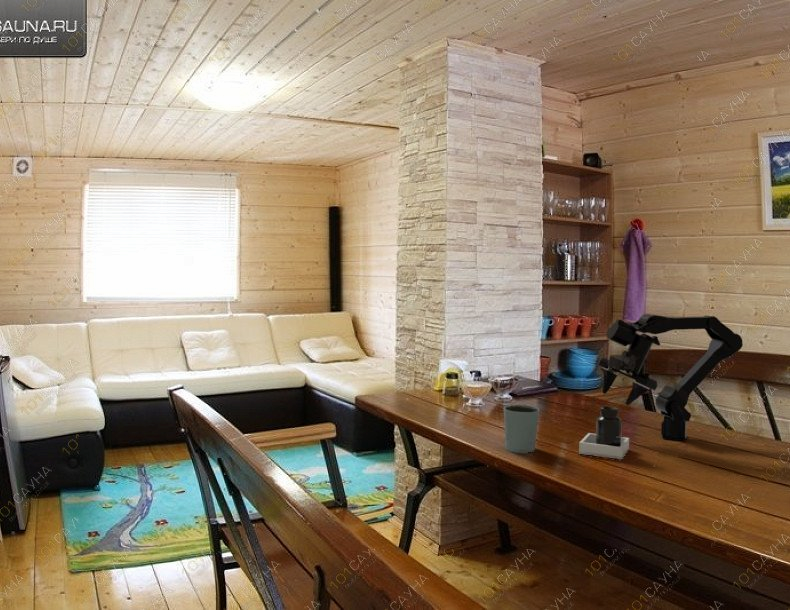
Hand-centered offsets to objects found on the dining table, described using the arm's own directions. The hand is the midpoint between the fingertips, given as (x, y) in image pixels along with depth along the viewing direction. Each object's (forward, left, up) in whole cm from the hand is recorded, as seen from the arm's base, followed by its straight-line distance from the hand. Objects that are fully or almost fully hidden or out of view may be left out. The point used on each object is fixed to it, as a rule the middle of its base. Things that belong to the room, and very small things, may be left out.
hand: (615, 399), depth 204 cm
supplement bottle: (-1, +16, -12) cm, 20 cm away
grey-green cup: (+22, +24, -13) cm, 35 cm away
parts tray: (0, +16, -12) cm, 20 cm away
